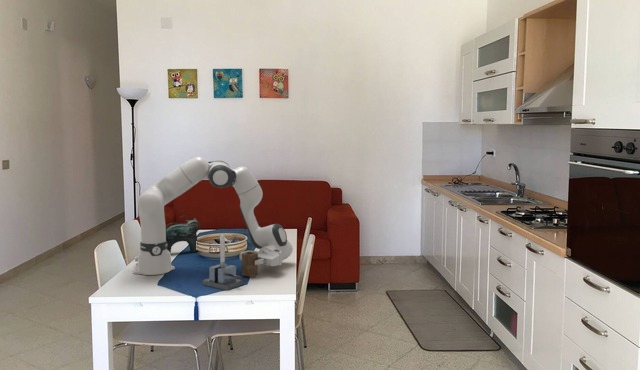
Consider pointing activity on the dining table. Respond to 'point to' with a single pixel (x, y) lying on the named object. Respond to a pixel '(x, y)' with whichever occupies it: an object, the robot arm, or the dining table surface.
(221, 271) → the vise
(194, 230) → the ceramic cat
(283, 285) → the dining table surface
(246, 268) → the walnut sleeve
